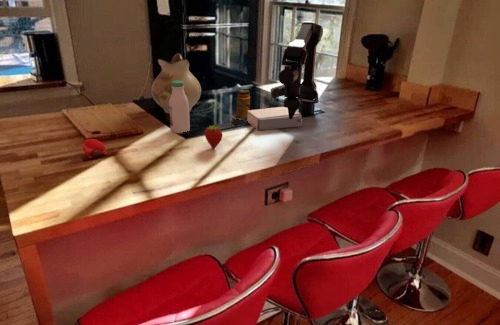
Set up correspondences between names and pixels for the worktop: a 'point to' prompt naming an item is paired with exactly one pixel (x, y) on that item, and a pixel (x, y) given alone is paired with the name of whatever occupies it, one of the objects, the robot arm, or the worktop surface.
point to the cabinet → (267, 114)
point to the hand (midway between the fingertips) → (290, 118)
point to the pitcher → (175, 73)
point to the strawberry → (213, 135)
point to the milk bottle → (179, 109)
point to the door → (279, 122)
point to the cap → (93, 147)
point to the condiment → (242, 104)
